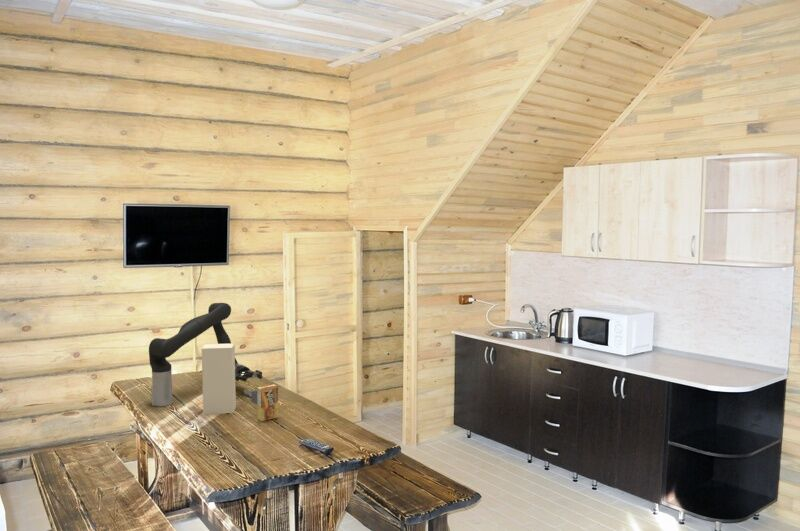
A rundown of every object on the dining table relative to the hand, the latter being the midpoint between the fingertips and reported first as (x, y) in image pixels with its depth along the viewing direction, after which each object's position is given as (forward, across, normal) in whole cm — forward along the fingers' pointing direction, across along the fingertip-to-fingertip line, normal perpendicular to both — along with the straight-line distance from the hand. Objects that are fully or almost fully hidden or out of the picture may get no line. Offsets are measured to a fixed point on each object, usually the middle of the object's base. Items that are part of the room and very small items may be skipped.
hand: (253, 378), depth 327 cm
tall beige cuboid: (+9, -22, +10) cm, 26 cm away
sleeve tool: (+1, 0, +11) cm, 11 cm away
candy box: (+34, -9, +11) cm, 37 cm away
